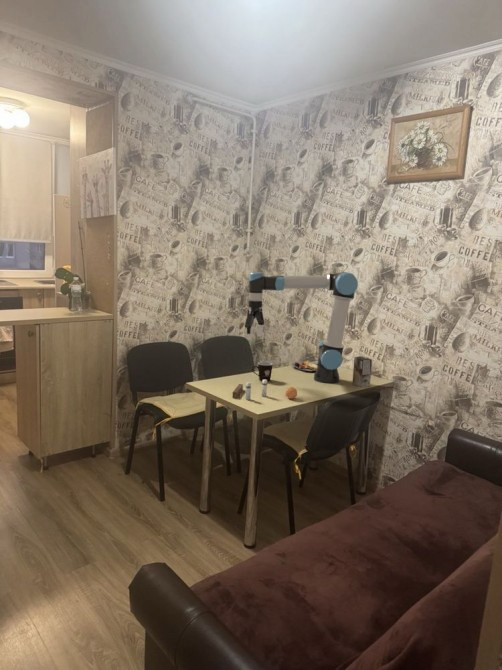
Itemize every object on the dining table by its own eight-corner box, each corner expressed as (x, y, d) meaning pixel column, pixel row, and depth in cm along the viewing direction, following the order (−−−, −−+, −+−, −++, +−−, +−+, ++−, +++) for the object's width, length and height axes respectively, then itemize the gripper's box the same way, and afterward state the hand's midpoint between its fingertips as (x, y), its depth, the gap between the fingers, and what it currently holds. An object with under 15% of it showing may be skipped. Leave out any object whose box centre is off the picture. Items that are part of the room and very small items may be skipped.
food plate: (284, 366, 309) (285, 361, 308) (309, 362, 323) (310, 357, 322) (311, 375, 289) (311, 370, 289) (336, 371, 304) (337, 366, 303)
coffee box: (370, 386, 267) (372, 359, 264) (361, 387, 264) (363, 359, 262) (360, 382, 275) (362, 355, 272) (351, 383, 272) (353, 356, 270)
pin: (266, 395, 242) (267, 379, 240) (266, 396, 239) (266, 381, 238) (262, 395, 242) (262, 379, 241) (261, 396, 240) (262, 380, 238)
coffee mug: (272, 378, 275) (273, 362, 274) (271, 382, 267) (272, 365, 265) (252, 377, 276) (253, 361, 275) (251, 381, 268) (252, 364, 266)
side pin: (250, 398, 235) (251, 382, 234) (249, 400, 233) (250, 383, 231) (246, 398, 235) (246, 382, 234) (245, 399, 233) (245, 383, 232)
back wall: (242, 389, 251) (242, 384, 250) (236, 398, 235) (236, 392, 235) (239, 389, 251) (239, 384, 250) (232, 397, 235) (232, 392, 235)
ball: (297, 397, 241) (298, 386, 240) (296, 400, 235) (297, 389, 234) (285, 396, 242) (286, 385, 241) (284, 399, 236) (285, 388, 235)
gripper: (259, 298, 272) (257, 334, 275) (239, 301, 250) (238, 340, 253) (270, 299, 269) (269, 335, 272) (251, 302, 246) (250, 341, 250)
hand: (254, 337), depth 263 cm, fingers open, 13 cm apart
